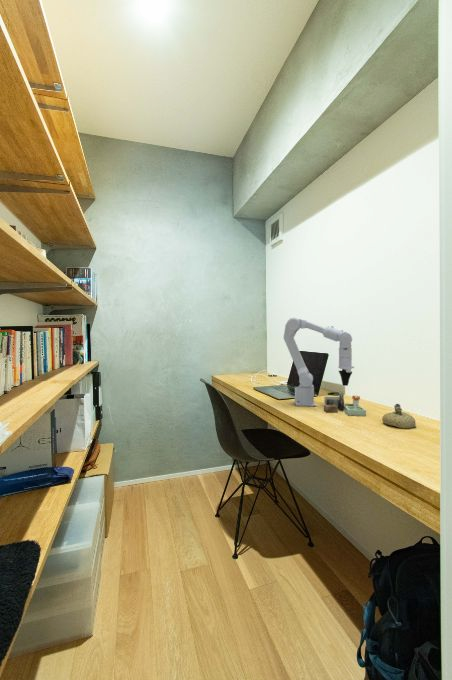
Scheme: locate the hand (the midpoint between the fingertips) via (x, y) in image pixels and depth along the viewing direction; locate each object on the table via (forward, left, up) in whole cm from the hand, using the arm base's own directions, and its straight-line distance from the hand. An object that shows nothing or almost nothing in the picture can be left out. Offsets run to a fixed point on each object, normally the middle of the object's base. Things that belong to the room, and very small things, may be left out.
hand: (345, 385), depth 149 cm
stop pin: (+2, -12, -10) cm, 16 cm away
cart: (-5, -3, -10) cm, 12 cm away
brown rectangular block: (-9, -10, -11) cm, 17 cm away
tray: (+1, -13, -10) cm, 16 cm away
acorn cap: (+14, -27, -11) cm, 32 cm away
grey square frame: (+2, -4, -10) cm, 11 cm away
